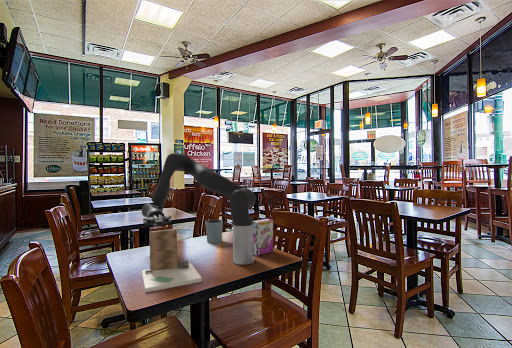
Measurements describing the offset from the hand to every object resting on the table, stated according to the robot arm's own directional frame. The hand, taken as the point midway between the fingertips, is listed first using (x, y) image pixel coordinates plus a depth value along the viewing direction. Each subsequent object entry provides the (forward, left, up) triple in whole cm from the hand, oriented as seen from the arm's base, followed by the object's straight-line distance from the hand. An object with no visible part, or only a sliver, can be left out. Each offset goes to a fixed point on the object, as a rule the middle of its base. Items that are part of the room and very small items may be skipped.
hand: (159, 223), depth 121 cm
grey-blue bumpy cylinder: (-14, -42, -19) cm, 49 cm away
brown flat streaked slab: (-5, +6, -17) cm, 19 cm away
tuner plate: (-8, +10, -19) cm, 23 cm away
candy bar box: (-43, -22, -19) cm, 52 cm away
